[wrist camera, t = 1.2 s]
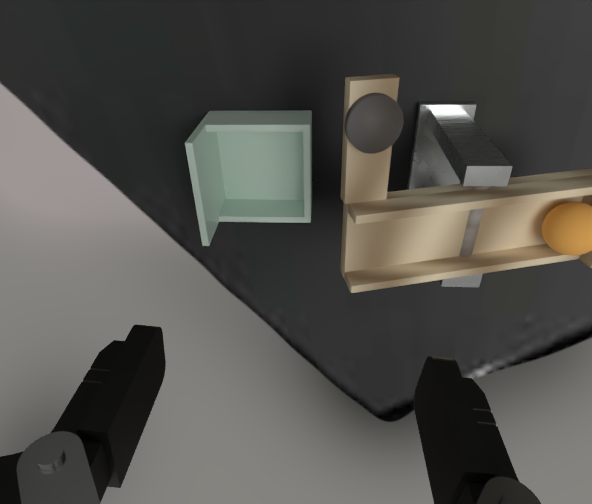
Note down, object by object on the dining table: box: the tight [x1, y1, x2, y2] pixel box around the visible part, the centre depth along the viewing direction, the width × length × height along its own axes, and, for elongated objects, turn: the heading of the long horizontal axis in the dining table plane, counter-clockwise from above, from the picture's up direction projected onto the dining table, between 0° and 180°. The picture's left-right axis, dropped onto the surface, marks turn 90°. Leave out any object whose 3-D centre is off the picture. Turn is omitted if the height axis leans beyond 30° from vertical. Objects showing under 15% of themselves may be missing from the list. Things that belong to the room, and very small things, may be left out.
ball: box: [542, 202, 592, 255], centre depth 26 cm, size 3×3×3 cm
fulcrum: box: [407, 102, 513, 287], centre depth 30 cm, size 4×9×11 cm, turn 1°
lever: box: [340, 74, 592, 293], centre depth 24 cm, size 16×12×3 cm
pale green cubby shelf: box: [185, 110, 312, 246], centre depth 33 cm, size 8×8×7 cm
